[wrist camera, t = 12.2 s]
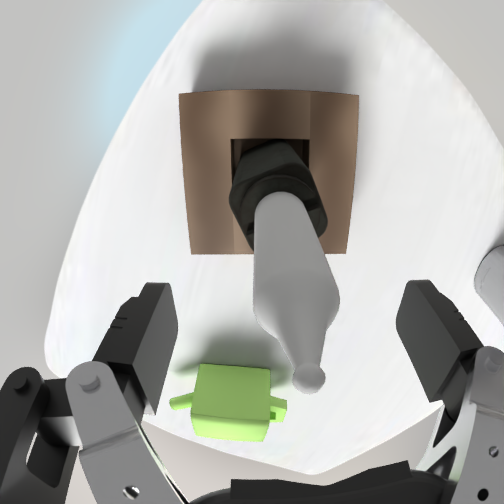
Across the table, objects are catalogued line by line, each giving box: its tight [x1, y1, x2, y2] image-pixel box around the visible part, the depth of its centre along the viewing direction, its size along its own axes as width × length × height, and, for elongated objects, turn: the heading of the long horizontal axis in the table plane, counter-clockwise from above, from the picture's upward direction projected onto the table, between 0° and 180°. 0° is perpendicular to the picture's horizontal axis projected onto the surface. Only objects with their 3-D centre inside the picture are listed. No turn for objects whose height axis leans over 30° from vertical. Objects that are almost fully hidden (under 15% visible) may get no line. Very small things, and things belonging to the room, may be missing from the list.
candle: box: [229, 138, 340, 394], centre depth 18 cm, size 5×5×25 cm
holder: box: [179, 89, 359, 254], centre depth 27 cm, size 15×15×5 cm
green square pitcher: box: [169, 364, 287, 442], centre depth 42 cm, size 18×10×10 cm, turn 86°
